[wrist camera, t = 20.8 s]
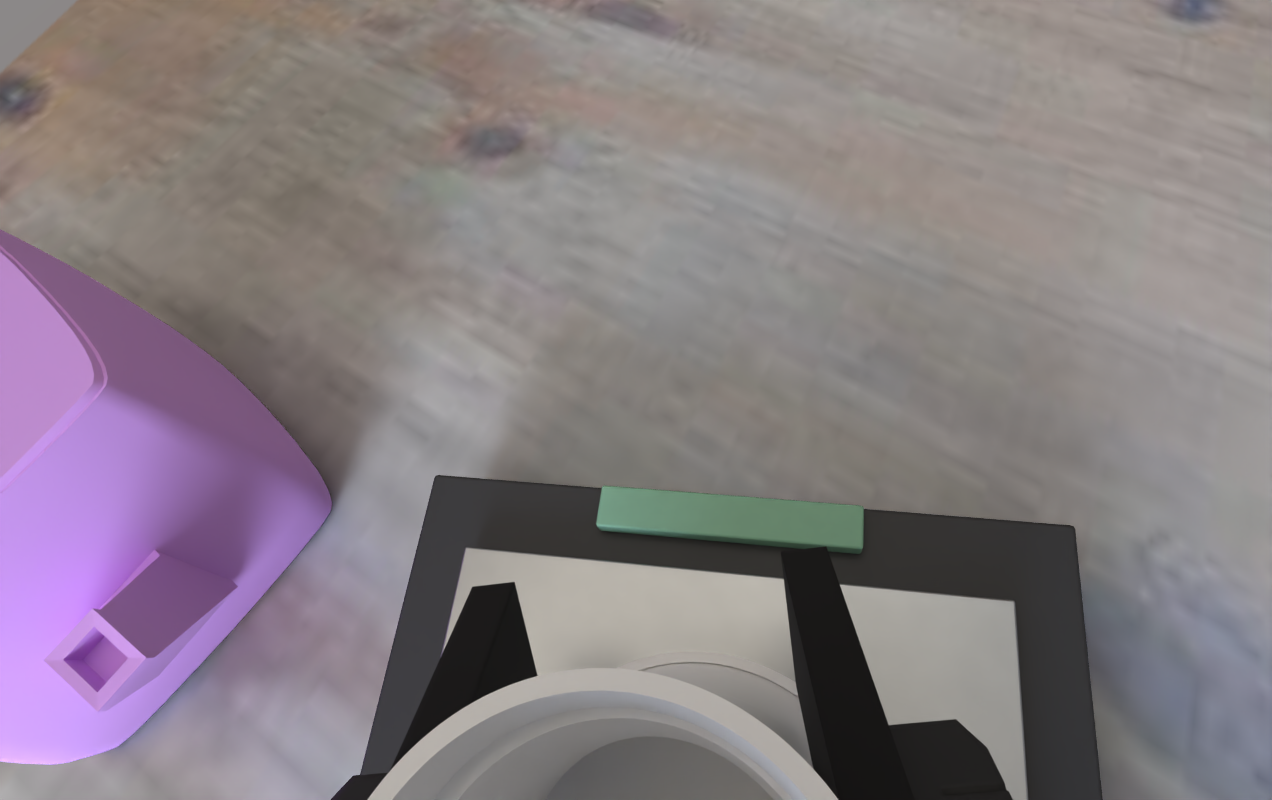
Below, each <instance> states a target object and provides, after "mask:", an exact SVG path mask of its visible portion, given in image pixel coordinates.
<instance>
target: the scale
mask: <svg viewBox="0 0 1272 800" xmlns="http://www.w3.org/2000/svg"><path fill="white" fill-rule="evenodd" d="M825 546H826V547H827V549H828V552H829V555H830V558H831V561H832V564H833V567H834V570H835V572H836V575H837V578H838V581H839V584H840V587H841V590H842V592H843V595H844V598H845V601H846V604H847V607H848V610H849V613H850V615H851V618H852V621H853V624H854V627H855V630H856V633H857V636H858V638H859V641H860V644H861V647H862V650H863V653H864V656H865V658H866V661H867V664H868V667H869V670H870V673H871V676H872V679H873V681H874V684H875V687H876V690H877V693H878V696H879V699H880V702H881V704H882V707H883V710H884V713H885V716H886V719H887V722H888V724H889V725H896V724H907V723H918V722H929V721H940V720H951V719H956V720H957V721H959V722H960V723H961V724H962V725H963V726H964V727H965V728H966V729H967V730H968V731H970V732H971V733H972V734H973V735H974V736H975V737H976V738H977V739H978V740H979V741H980V742H982V743H983V744H984V745H985V746H986V747H987V748H988V750H989V752H990V754H991V756H992V758H993V760H994V762H995V764H996V766H997V768H998V770H999V772H1000V774H1001V776H1002V778H1003V780H1004V783H1005V787H1006V790H1007V791H1009V793H1010V795H1011V797H1012V799H1013V800H1103V799H1102V790H1101V780H1100V770H1099V760H1098V750H1097V740H1096V731H1095V721H1094V711H1093V701H1092V691H1091V681H1090V671H1089V662H1088V652H1087V642H1086V632H1085V622H1084V612H1083V603H1082V593H1081V583H1080V573H1079V563H1078V553H1077V543H1076V534H1075V528H1074V527H1073V526H1070V525H1059V524H1047V523H1034V522H1022V521H1009V520H996V519H984V518H971V517H959V516H946V515H933V514H921V513H908V512H896V511H883V510H870V509H864V508H863V506H859V505H846V504H834V503H821V502H808V501H795V500H783V499H770V498H757V497H745V496H732V495H719V494H706V493H694V492H681V491H668V490H656V489H643V488H630V487H617V486H603V487H602V488H593V487H581V486H568V485H555V484H543V483H530V482H518V481H505V480H492V479H480V478H467V477H455V476H442V475H437V476H435V478H434V482H433V486H432V490H431V494H430V498H429V502H428V506H427V510H426V514H425V518H424V522H423V526H422V530H421V534H420V538H419V542H418V546H417V550H416V554H415V558H414V562H413V566H412V570H411V574H410V578H409V582H408V586H407V590H406V594H405V598H404V602H403V606H402V610H401V614H400V618H399V622H398V626H397V630H396V634H395V638H394V642H393V646H392V650H391V654H390V658H389V662H388V666H387V670H386V674H385V678H384V682H383V686H382V690H381V694H380V698H379V702H378V706H377V710H376V714H375V718H374V722H373V726H372V730H371V734H370V738H369V742H368V746H367V750H366V754H365V758H364V761H363V765H362V769H361V773H360V775H367V774H378V773H389V772H390V770H391V767H392V765H393V763H394V761H395V758H396V756H397V754H398V752H399V749H400V747H401V745H402V743H403V740H404V738H405V736H406V734H407V732H408V729H409V727H410V725H411V723H412V720H413V718H414V716H415V714H416V711H417V709H418V707H419V705H420V702H421V700H422V698H423V696H424V694H425V691H426V689H427V687H428V685H429V682H430V680H431V678H432V676H433V673H434V671H435V669H436V667H437V664H438V662H439V660H440V658H441V656H442V653H443V651H444V649H445V647H446V644H447V642H448V640H449V638H450V635H451V633H452V631H453V629H454V626H455V624H456V622H457V620H458V618H459V615H460V613H461V611H462V609H463V606H464V604H465V602H466V600H467V597H468V595H469V593H470V591H471V589H472V587H473V586H482V585H491V584H500V583H509V582H515V585H516V589H517V594H518V598H519V602H520V606H521V610H522V614H523V618H524V622H525V626H526V630H527V635H528V639H529V643H530V647H531V651H532V655H533V659H534V663H535V667H536V671H537V675H538V676H540V675H544V674H549V673H553V672H559V671H565V670H573V669H584V668H617V667H620V666H622V665H624V664H627V663H630V662H632V661H635V660H638V659H642V658H645V657H649V656H654V655H659V654H664V653H672V652H687V651H697V652H712V653H719V654H725V655H730V656H735V657H739V658H742V659H746V660H749V661H752V662H755V663H758V664H760V665H763V666H765V667H768V668H770V669H772V670H774V671H776V672H778V673H780V674H782V675H784V676H786V677H788V678H789V679H791V680H793V681H794V682H796V681H795V673H794V664H793V655H792V647H791V638H790V629H789V621H788V612H787V603H786V595H785V586H784V577H783V569H782V560H781V551H790V550H799V549H807V548H816V547H825Z"/></svg>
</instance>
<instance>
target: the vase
mask: <svg viewBox="0 0 1272 800" xmlns="http://www.w3.org/2000/svg"><path fill="white" fill-rule="evenodd" d="M368 800H838V799H837V797H836V796H835V794H834V793H833V792H832V791H831V789H830V788H829V787H828V786H827V784H826V783H825V782H824V781H823V779H822V778H821V777H820V776H819V775H818V774H817V773H816V772H815V770H814V769H813V765H812V760H811V755H810V750H809V745H808V741H807V736H806V731H805V726H804V721H803V717H802V712H801V707H800V702H799V697H798V693H797V688H796V682H794V681H793V680H791V679H789V678H788V677H786V676H784V675H782V674H780V673H778V672H776V671H774V670H772V669H770V668H768V667H765V666H763V665H760V664H758V663H755V662H752V661H749V660H746V659H742V658H739V657H735V656H730V655H725V654H719V653H712V652H697V651H687V652H672V653H664V654H659V655H654V656H649V657H645V658H642V659H638V660H635V661H632V662H630V663H627V664H624V665H622V666H620V667H617V668H584V669H573V670H565V671H559V672H553V673H549V674H544V675H540V676H536V677H533V678H529V679H526V680H523V681H520V682H517V683H514V684H511V685H509V686H506V687H504V688H501V689H499V690H497V691H494V692H492V693H490V694H488V695H486V696H484V697H482V698H480V699H478V700H476V701H475V702H473V703H471V704H469V705H468V706H466V707H464V708H463V709H461V710H459V711H458V712H457V713H455V714H454V715H452V716H451V717H449V718H448V719H446V720H445V721H444V722H442V723H441V724H440V725H438V726H437V727H436V728H434V729H433V730H432V731H431V732H429V733H428V734H427V735H426V736H425V737H423V738H422V739H421V740H420V741H419V742H418V743H417V744H416V745H415V746H414V747H412V748H411V749H410V750H409V751H408V752H407V753H406V754H405V755H404V756H403V757H402V758H401V760H400V761H399V762H398V763H397V764H396V765H395V766H394V767H393V768H392V769H391V771H390V772H389V773H388V774H387V775H386V776H385V778H384V779H383V780H382V781H381V782H380V784H379V785H378V786H377V788H376V789H375V790H374V791H373V793H372V794H371V796H370V797H369V798H368Z"/></svg>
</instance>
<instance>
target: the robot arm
mask: <svg viewBox="0 0 1272 800" xmlns="http://www.w3.org/2000/svg"><path fill="white" fill-rule="evenodd" d="M781 560H782V569H783V577H784V586H785V595H786V603H787V612H788V621H789V629H790V638H791V647H792V655H793V664H794V673H795V681H796V688H797V693H798V697H799V702H800V707H801V712H802V717H803V721H804V726H805V731H806V736H807V741H808V745H809V750H810V755H811V760H812V765H813V769H814V770H815V772H816V773H817V774H818V775H819V776H820V777H821V778H822V779H823V781H824V782H825V783H826V784H827V786H828V787H829V788H830V789H831V791H832V792H833V793H834V794H835V796H836V797H837V799H838V800H1013V799H1012V797H1011V795H1010V793H1009V791H1007V790H1006V787H1005V783H1004V780H1003V778H1002V776H1001V774H1000V772H999V770H998V768H997V766H996V764H995V762H994V760H993V758H992V756H991V754H990V752H989V750H988V748H987V747H986V746H985V745H984V744H983V743H982V742H980V741H979V740H978V739H977V738H976V737H975V736H974V735H973V734H972V733H971V732H970V731H968V730H967V729H966V728H965V727H964V726H963V725H962V724H961V723H960V722H959V721H957V720H956V719H951V720H940V721H929V722H918V723H907V724H896V725H889V724H888V722H887V719H886V716H885V713H884V710H883V707H882V704H881V702H880V699H879V696H878V693H877V690H876V687H875V684H874V681H873V679H872V676H871V673H870V670H869V667H868V664H867V661H866V658H865V656H864V653H863V650H862V647H861V644H860V641H859V638H858V636H857V633H856V630H855V627H854V624H853V621H852V618H851V615H850V613H849V610H848V607H847V604H846V601H845V598H844V595H843V592H842V590H841V587H840V584H839V581H838V578H837V575H836V572H835V570H834V567H833V564H832V561H831V558H830V555H829V552H828V549H827V547H826V546H825V547H816V548H807V549H799V550H790V551H781ZM536 676H538V675H537V671H536V667H535V663H534V659H533V655H532V651H531V647H530V643H529V639H528V635H527V630H526V626H525V622H524V618H523V614H522V610H521V606H520V602H519V598H518V594H517V589H516V585H515V582H509V583H500V584H491V585H482V586H473V587H472V589H471V591H470V593H469V595H468V597H467V600H466V602H465V604H464V606H463V609H462V611H461V613H460V615H459V618H458V620H457V622H456V624H455V626H454V629H453V631H452V633H451V635H450V638H449V640H448V642H447V644H446V647H445V649H444V651H443V653H442V656H441V658H440V660H439V662H438V664H437V667H436V669H435V671H434V673H433V676H432V678H431V680H430V682H429V685H428V687H427V689H426V691H425V694H424V696H423V698H422V700H421V702H420V705H419V707H418V709H417V711H416V714H415V716H414V718H413V720H412V723H411V725H410V727H409V729H408V732H407V734H406V736H405V738H404V740H403V743H402V745H401V747H400V749H399V752H398V754H397V756H396V758H395V761H394V763H393V765H392V767H391V769H392V768H393V767H394V766H395V765H396V764H397V763H398V762H399V761H400V760H401V758H402V757H403V756H404V755H405V754H406V753H407V752H408V751H409V750H410V749H411V748H412V747H414V746H415V745H416V744H417V743H418V742H419V741H420V740H421V739H422V738H423V737H425V736H426V735H427V734H428V733H429V732H431V731H432V730H433V729H434V728H436V727H437V726H438V725H440V724H441V723H442V722H444V721H445V720H446V719H448V718H449V717H451V716H452V715H454V714H455V713H457V712H458V711H459V710H461V709H463V708H464V707H466V706H468V705H469V704H471V703H473V702H475V701H476V700H478V699H480V698H482V697H484V696H486V695H488V694H490V693H492V692H494V691H497V690H499V689H501V688H504V687H506V686H509V685H511V684H514V683H517V682H520V681H523V680H526V679H529V678H533V677H536ZM390 771H391V770H390ZM387 774H388V773H378V774H367V775H356V776H352V778H351V779H350V780H349V781H348V782H347V783H346V784H345V785H344V786H343V787H342V788H341V789H340V790H339V791H338V792H337V793H336V795H335V796H334V797H333V798H332V799H331V800H368V798H369V797H370V796H371V794H372V793H373V791H374V790H375V789H376V788H377V786H378V785H379V784H380V782H381V781H382V780H383V779H384V778H385V776H386V775H387Z"/></svg>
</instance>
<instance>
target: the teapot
mask: <svg viewBox="0 0 1272 800" xmlns="http://www.w3.org/2000/svg"><path fill="white" fill-rule="evenodd" d="M331 507H332V501H331V497H330V493H329V491H328V488H327V487H326V485H325V483H324V481H323V479H322V477H321V475H320V473H319V472H318V470H317V469H316V467H315V466H314V465H313V464H312V462H311V461H310V460H309V458H308V457H307V456H306V454H305V453H304V452H303V451H302V449H301V448H300V447H299V445H298V444H297V443H296V441H295V440H294V439H293V438H292V437H291V436H290V434H289V433H288V432H287V431H286V430H285V429H284V427H283V426H282V425H281V424H280V423H279V421H278V420H277V419H276V418H275V417H274V416H273V415H272V414H271V413H270V412H269V410H268V409H267V408H266V407H265V406H264V405H263V404H262V403H261V402H260V401H259V400H258V399H257V398H256V397H255V396H254V395H253V394H252V393H251V392H250V391H249V390H248V389H247V388H246V387H245V386H244V385H243V384H242V383H241V382H240V381H239V380H238V379H237V378H236V377H235V376H234V375H233V374H232V373H231V372H229V371H228V370H227V369H226V368H225V367H224V366H223V365H222V364H220V363H219V362H218V361H217V360H215V359H214V358H213V357H212V356H210V355H209V354H208V353H207V352H205V351H204V350H202V349H201V348H200V347H198V346H197V345H196V344H194V343H193V342H191V341H190V340H189V339H187V338H186V337H184V336H183V335H182V334H180V333H179V332H177V331H176V330H174V329H173V328H172V327H170V326H169V325H167V324H165V323H164V322H162V321H161V320H159V319H158V318H156V317H155V316H153V315H151V314H150V313H148V312H147V311H145V310H143V309H142V308H140V307H139V306H137V305H135V304H134V303H132V302H130V301H129V300H127V299H125V298H124V297H122V296H120V295H119V294H117V293H116V292H114V291H112V290H111V289H109V288H107V287H106V286H104V285H102V284H101V283H99V282H97V281H96V280H94V279H92V278H91V277H89V276H87V275H85V274H84V273H82V272H80V271H78V270H77V269H75V268H73V267H71V266H69V265H68V264H66V263H64V262H62V261H60V260H58V259H57V258H55V257H53V256H51V255H49V254H47V253H45V252H43V251H42V250H40V249H38V248H36V247H34V246H32V245H30V244H28V243H26V242H24V241H22V240H20V239H18V238H16V237H14V236H12V235H10V234H8V233H6V232H4V231H2V230H0V761H2V762H13V763H24V764H53V765H54V764H61V763H68V762H72V761H75V760H78V759H82V758H85V757H89V756H92V755H96V754H99V753H102V752H105V751H108V750H111V749H113V748H116V747H118V746H119V745H120V744H122V743H123V742H124V741H125V740H127V739H128V738H129V737H130V736H132V735H133V734H134V733H135V732H136V731H137V730H138V729H139V728H140V727H141V726H142V725H143V724H144V723H145V722H146V721H147V720H148V719H149V718H150V717H151V716H152V715H153V714H154V713H155V712H156V711H157V710H158V709H159V708H160V707H161V706H162V705H163V704H164V703H165V702H166V701H167V700H168V698H169V697H170V696H171V695H172V694H173V693H174V692H175V691H176V690H177V689H178V688H179V687H180V686H181V685H182V684H183V683H184V682H185V680H186V679H187V678H188V677H189V676H190V675H191V674H192V673H193V672H194V671H195V670H196V669H197V668H198V667H199V666H200V665H201V663H202V662H203V661H204V660H205V659H206V658H207V657H208V656H209V655H210V654H211V653H212V652H213V650H214V649H215V648H216V647H217V646H218V645H219V644H220V643H221V642H222V641H223V640H224V639H225V637H226V636H227V635H228V634H229V633H230V632H231V631H232V630H233V629H234V628H235V626H236V625H237V624H238V623H239V622H240V621H241V620H242V619H243V617H244V616H245V615H246V614H247V613H248V612H249V611H250V609H251V608H252V607H253V606H254V605H255V604H256V603H257V602H258V600H259V599H260V598H261V597H262V596H263V595H264V594H265V592H266V591H267V590H268V589H269V588H270V587H271V585H272V584H273V583H274V582H275V581H276V580H277V578H278V577H279V576H280V575H281V574H282V573H283V572H284V570H285V569H286V568H287V567H288V566H289V565H290V563H291V562H292V561H293V560H294V559H295V558H296V556H297V555H298V554H299V553H300V552H301V550H302V549H303V548H304V547H305V545H306V544H307V543H308V542H309V540H310V539H311V538H312V537H313V535H314V534H315V533H316V532H317V531H318V529H319V528H320V527H321V526H322V524H323V523H324V521H325V519H326V518H327V516H328V515H329V513H330V511H331Z"/></svg>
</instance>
